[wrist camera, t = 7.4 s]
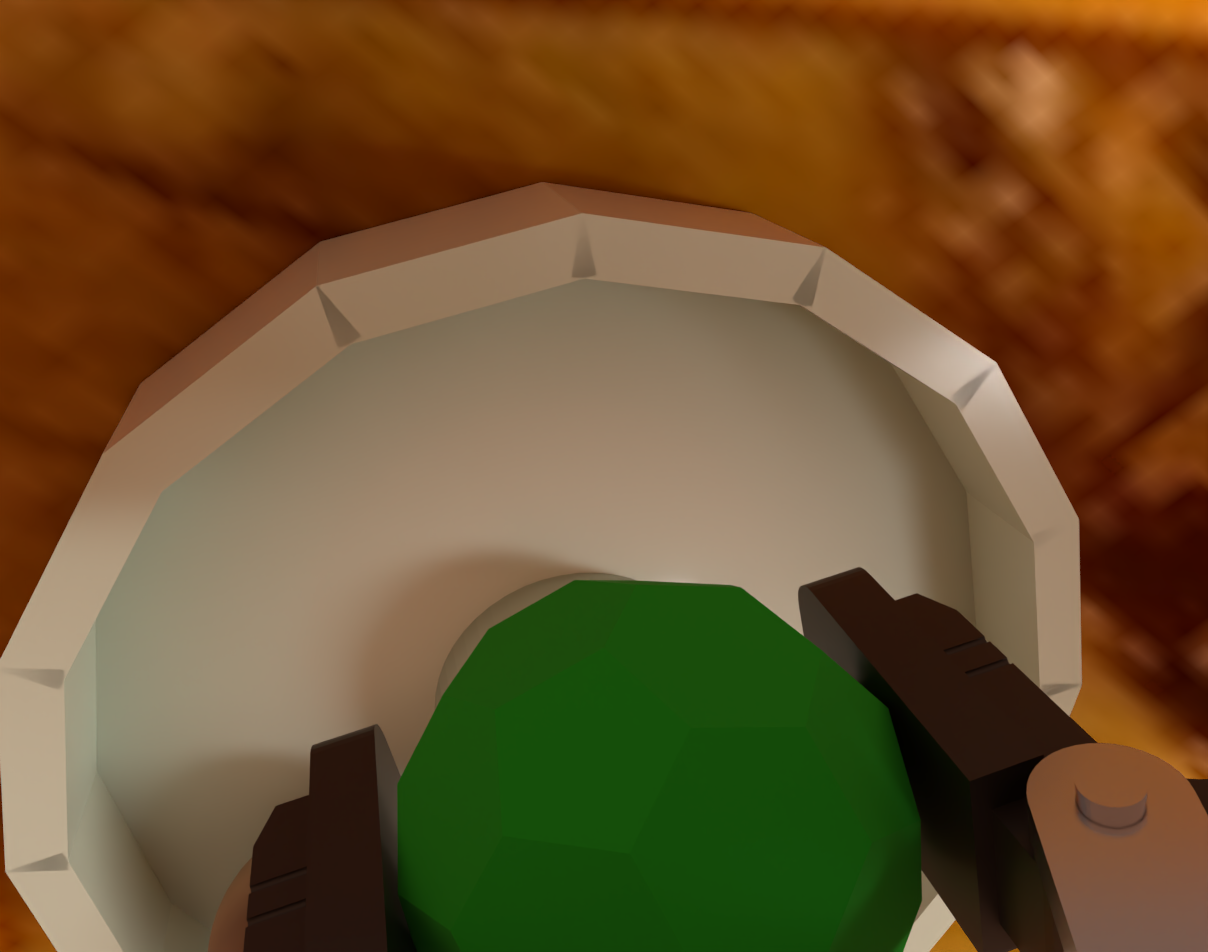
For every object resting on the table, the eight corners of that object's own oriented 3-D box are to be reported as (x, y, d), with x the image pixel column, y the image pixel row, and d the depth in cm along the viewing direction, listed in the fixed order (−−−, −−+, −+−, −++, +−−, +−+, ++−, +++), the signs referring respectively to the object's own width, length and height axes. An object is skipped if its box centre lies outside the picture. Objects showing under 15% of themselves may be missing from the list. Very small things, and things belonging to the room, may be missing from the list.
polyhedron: (338, 558, 11) (346, 897, 7) (777, 451, 12) (1034, 697, 7) (438, 901, 13) (493, 1325, 9) (805, 792, 14) (1017, 1136, 10)
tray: (958, 69, 20) (1090, 80, 17) (1007, 849, 29) (1099, 964, 26) (-166, 372, 18) (-292, 459, 14) (269, 1119, 27) (259, 1287, 23)
